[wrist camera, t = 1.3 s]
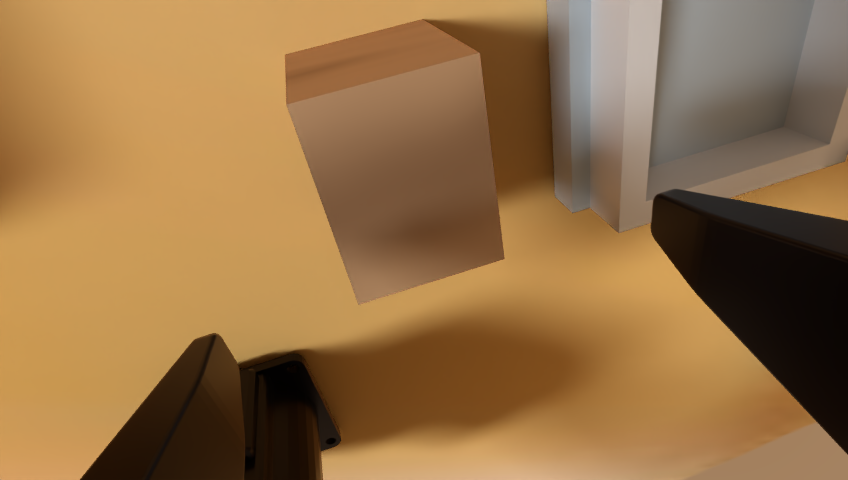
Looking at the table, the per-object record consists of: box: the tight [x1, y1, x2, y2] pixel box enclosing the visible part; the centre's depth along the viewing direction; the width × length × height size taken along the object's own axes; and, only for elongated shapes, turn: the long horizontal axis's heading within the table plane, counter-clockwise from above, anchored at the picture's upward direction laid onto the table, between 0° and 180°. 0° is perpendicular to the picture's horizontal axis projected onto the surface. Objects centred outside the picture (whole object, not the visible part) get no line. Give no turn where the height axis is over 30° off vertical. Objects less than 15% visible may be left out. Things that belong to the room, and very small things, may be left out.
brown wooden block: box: [285, 19, 504, 304], centre depth 15 cm, size 6×4×6 cm
